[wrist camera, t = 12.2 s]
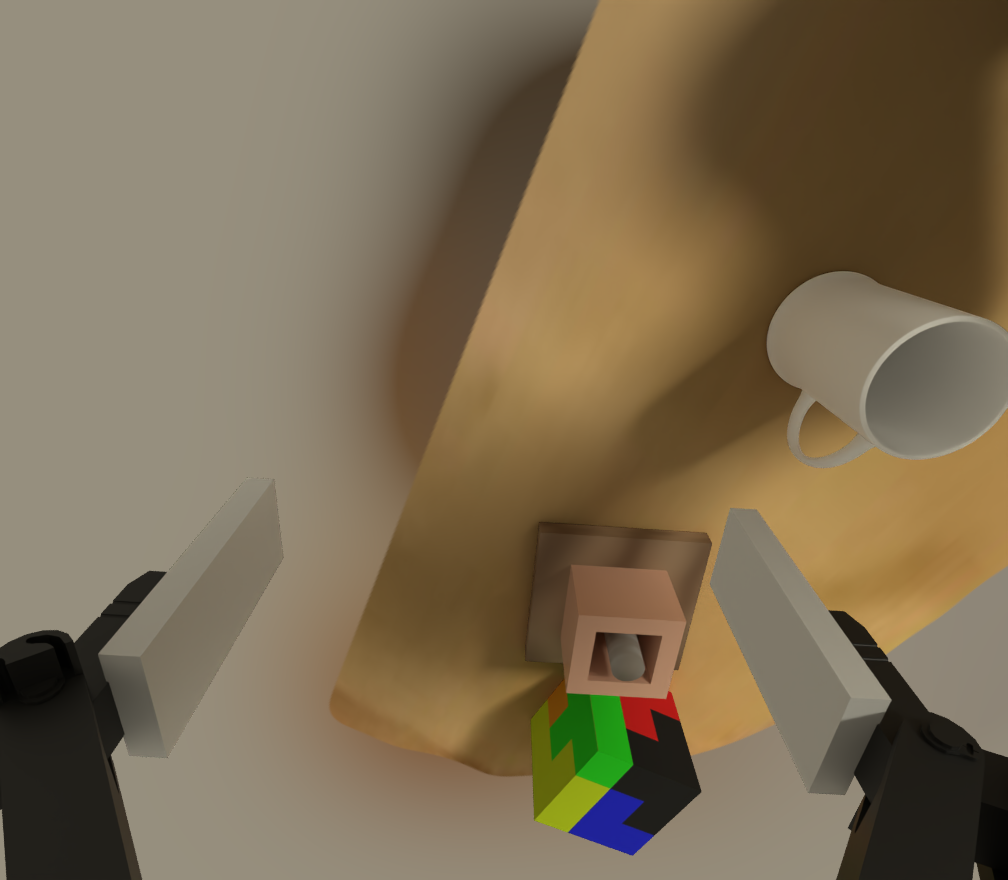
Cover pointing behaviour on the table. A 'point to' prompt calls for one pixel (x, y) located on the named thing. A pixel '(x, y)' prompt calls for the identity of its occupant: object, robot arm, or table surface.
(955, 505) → the table surface
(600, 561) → the square plate with peg
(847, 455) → the mug
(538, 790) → the puzzle toy
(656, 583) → the collar
